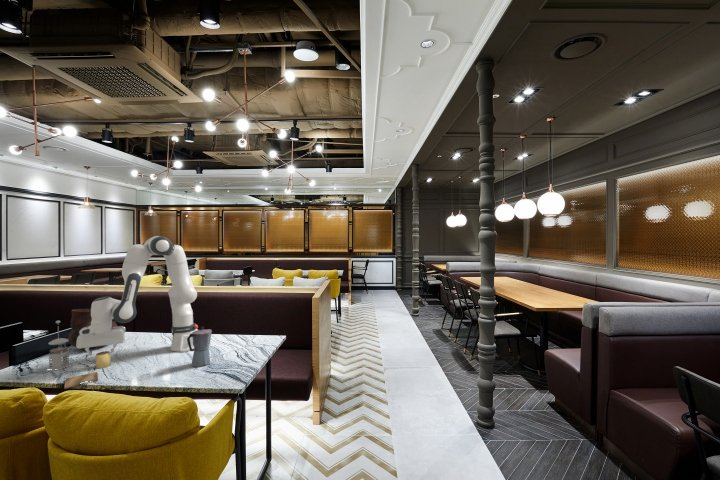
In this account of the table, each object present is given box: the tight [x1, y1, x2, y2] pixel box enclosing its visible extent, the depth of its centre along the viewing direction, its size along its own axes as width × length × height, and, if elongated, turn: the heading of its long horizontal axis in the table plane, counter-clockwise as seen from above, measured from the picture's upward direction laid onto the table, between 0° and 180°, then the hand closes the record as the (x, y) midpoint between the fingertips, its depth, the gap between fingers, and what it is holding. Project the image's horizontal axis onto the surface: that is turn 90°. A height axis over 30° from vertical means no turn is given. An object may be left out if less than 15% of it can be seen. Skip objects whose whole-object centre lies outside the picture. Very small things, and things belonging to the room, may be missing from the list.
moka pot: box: [187, 326, 213, 367], centre depth 174 cm, size 10×15×20 cm, turn 161°
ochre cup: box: [95, 350, 111, 370], centre depth 173 cm, size 6×6×7 cm
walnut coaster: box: [63, 371, 99, 389], centre depth 157 cm, size 12×12×1 cm
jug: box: [67, 308, 118, 350], centre depth 204 cm, size 25×25×25 cm
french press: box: [47, 320, 72, 370], centre depth 173 cm, size 10×12×25 cm
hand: (101, 353), depth 173 cm, fingers open, 8 cm apart
